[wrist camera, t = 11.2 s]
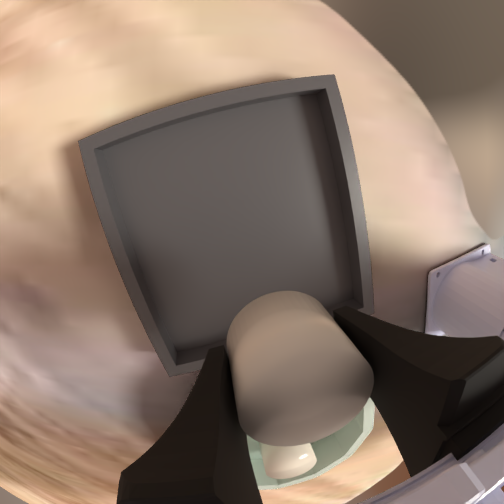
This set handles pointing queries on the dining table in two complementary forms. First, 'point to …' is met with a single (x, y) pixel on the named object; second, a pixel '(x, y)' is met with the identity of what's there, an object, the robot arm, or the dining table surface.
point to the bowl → (319, 450)
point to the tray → (231, 209)
